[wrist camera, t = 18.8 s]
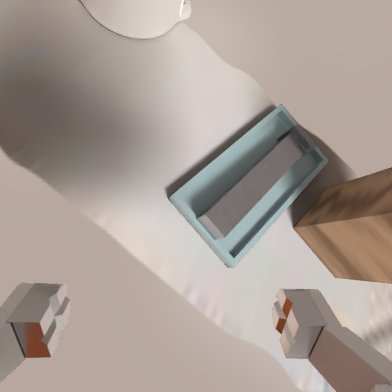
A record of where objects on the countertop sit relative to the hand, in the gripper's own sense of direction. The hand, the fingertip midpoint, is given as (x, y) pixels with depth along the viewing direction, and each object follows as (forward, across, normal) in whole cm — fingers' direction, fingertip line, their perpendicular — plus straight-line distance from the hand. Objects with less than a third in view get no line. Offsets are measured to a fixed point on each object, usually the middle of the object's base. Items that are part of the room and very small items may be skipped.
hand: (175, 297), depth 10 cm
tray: (+27, -11, +6) cm, 30 cm away
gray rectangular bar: (+25, -10, +6) cm, 28 cm away
